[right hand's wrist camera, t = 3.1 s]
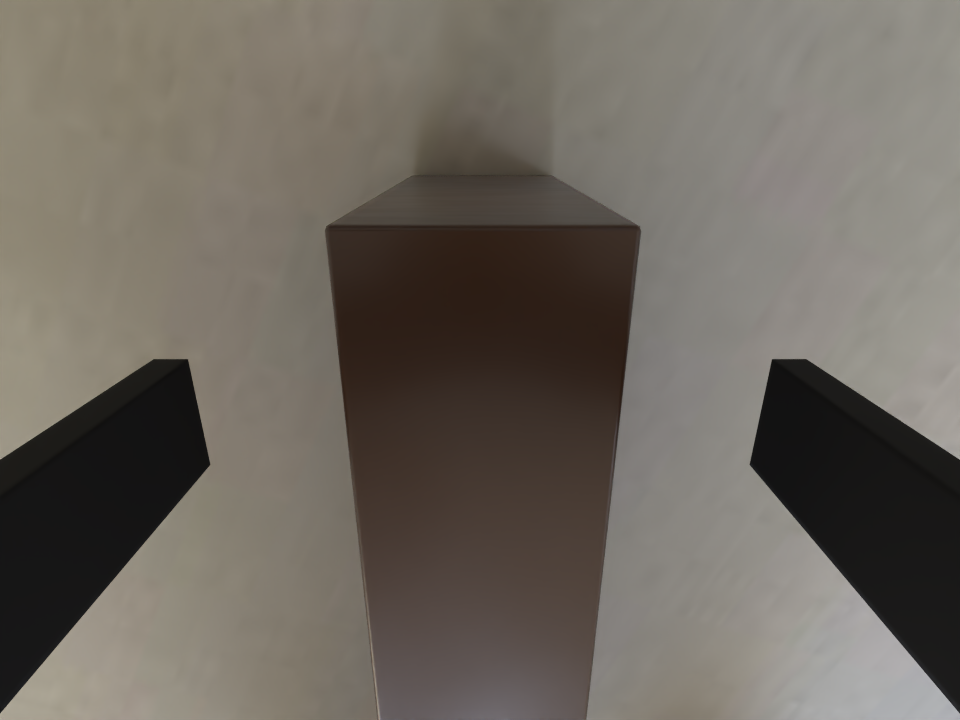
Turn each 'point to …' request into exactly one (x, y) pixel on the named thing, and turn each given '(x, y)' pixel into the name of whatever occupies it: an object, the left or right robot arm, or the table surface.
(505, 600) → the plank
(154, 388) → the right robot arm
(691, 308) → the table surface
